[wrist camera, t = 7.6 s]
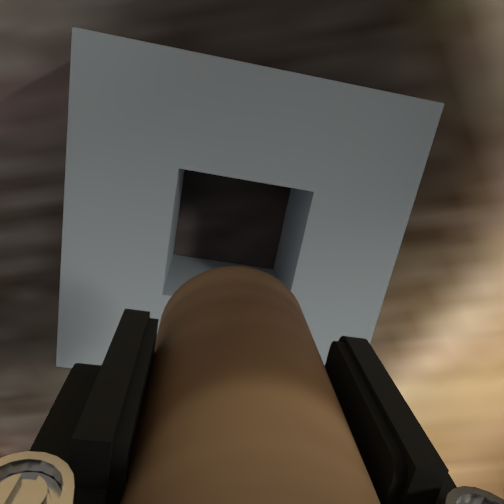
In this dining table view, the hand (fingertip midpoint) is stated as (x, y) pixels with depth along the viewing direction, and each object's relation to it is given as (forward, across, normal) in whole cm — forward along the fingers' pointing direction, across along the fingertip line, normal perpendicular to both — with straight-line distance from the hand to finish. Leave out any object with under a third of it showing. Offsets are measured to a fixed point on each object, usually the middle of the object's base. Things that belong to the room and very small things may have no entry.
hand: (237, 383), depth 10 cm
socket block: (+14, 0, 0) cm, 14 cm away
